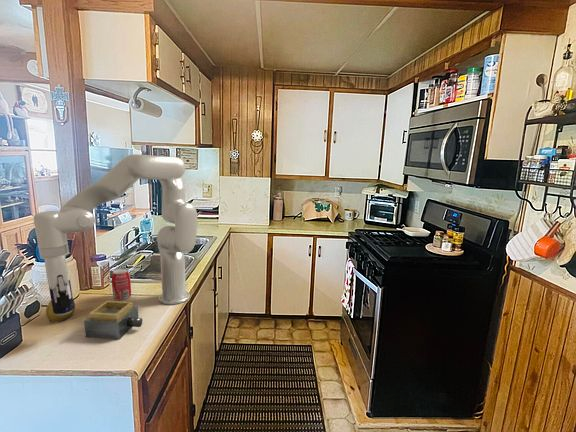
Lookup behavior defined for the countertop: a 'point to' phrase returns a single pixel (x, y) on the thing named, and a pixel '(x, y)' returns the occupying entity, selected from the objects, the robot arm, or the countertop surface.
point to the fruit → (54, 316)
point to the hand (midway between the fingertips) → (62, 303)
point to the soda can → (121, 284)
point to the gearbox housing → (112, 320)
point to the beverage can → (54, 301)
